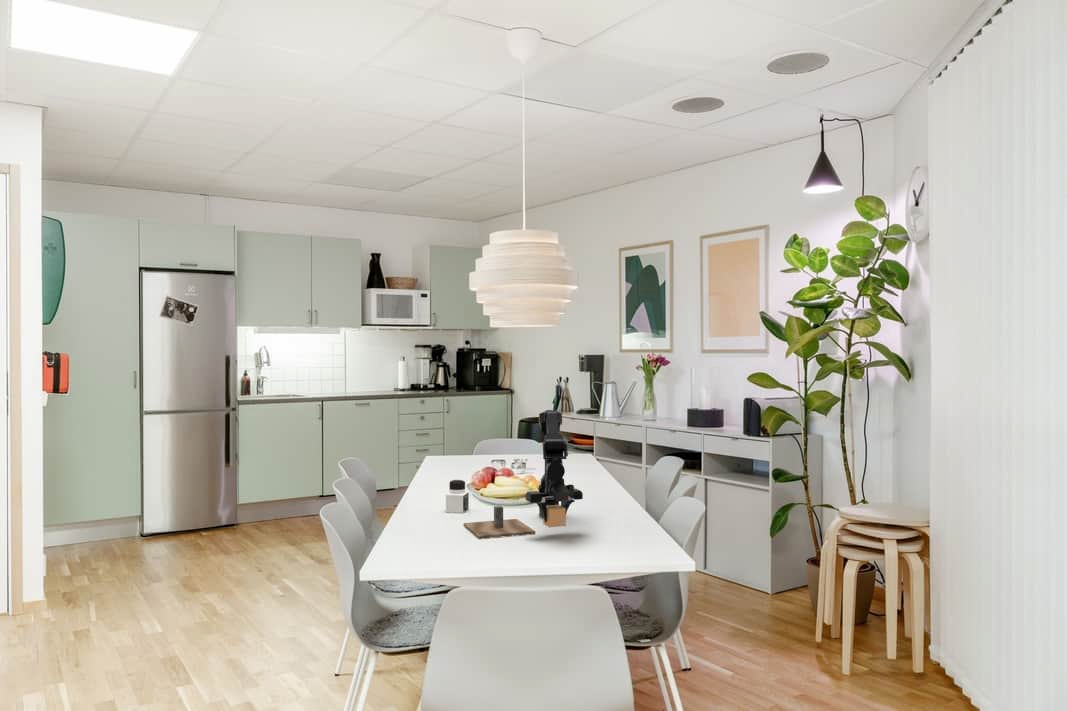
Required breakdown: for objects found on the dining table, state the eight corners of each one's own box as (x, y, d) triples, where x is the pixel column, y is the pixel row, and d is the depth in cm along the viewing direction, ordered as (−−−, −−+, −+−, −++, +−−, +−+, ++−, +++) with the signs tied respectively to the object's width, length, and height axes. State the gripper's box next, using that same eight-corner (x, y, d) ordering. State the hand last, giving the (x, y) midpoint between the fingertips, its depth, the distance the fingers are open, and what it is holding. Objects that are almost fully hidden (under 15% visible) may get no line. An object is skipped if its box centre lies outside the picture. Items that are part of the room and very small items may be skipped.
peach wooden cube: (559, 522, 265) (559, 504, 265) (565, 525, 259) (565, 508, 259) (543, 523, 263) (543, 505, 263) (549, 527, 257) (549, 509, 257)
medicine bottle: (463, 513, 297) (463, 482, 297) (445, 512, 298) (445, 481, 298) (468, 509, 304) (468, 479, 304) (451, 508, 305) (451, 478, 305)
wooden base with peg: (516, 521, 283) (516, 499, 283) (535, 534, 264) (535, 510, 264) (463, 525, 276) (463, 503, 276) (478, 539, 258) (478, 515, 257)
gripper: (536, 480, 250) (536, 528, 250) (589, 477, 256) (589, 524, 257) (524, 475, 261) (525, 521, 261) (576, 471, 267) (576, 517, 267)
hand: (554, 521), depth 261 cm, fingers closed on peach wooden cube, 6 cm apart
